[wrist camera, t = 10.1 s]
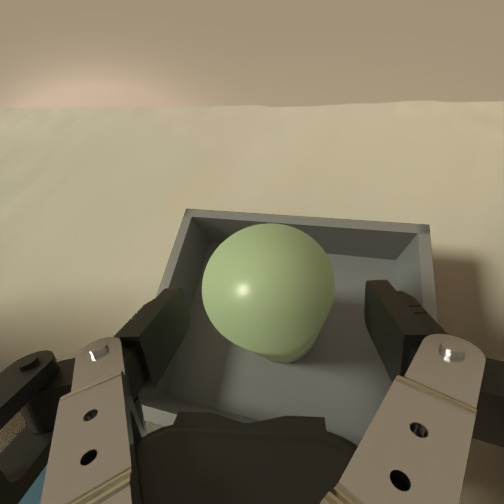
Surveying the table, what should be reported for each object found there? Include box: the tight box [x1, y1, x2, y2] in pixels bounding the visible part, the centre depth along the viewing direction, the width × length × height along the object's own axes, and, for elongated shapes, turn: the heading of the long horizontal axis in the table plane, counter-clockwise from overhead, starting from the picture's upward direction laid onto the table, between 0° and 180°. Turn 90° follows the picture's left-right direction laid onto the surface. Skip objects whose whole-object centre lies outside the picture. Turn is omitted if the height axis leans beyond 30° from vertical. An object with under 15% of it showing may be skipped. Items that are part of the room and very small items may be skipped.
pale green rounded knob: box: [202, 223, 335, 364], centre depth 15 cm, size 5×5×11 cm
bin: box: [139, 209, 438, 446], centre depth 18 cm, size 17×14×5 cm
